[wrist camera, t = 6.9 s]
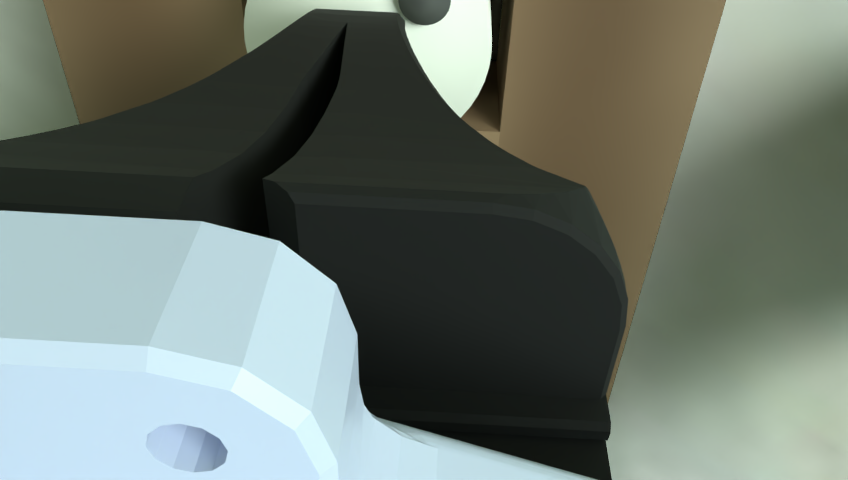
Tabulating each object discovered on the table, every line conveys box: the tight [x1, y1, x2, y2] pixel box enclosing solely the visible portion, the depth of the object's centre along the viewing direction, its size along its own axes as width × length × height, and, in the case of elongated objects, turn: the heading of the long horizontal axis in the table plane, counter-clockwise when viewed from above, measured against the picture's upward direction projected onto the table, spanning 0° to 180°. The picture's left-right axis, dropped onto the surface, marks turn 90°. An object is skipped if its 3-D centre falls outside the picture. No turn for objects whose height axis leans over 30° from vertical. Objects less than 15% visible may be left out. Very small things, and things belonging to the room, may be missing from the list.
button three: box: [244, 0, 492, 118], centre depth 13 cm, size 4×4×3 cm
